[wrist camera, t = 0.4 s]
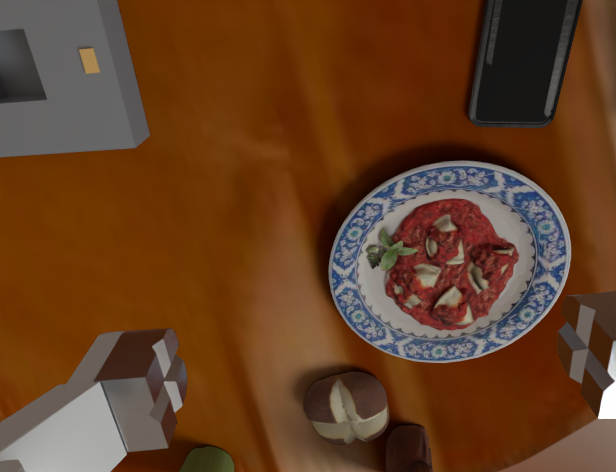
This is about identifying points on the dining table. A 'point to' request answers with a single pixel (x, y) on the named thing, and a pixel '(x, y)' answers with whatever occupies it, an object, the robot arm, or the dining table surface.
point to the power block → (66, 79)
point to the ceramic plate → (449, 261)
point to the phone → (522, 61)
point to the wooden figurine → (408, 450)
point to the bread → (347, 408)
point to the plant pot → (208, 461)
